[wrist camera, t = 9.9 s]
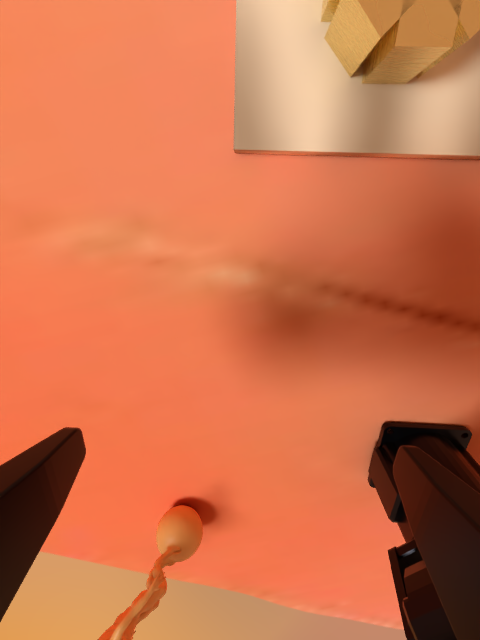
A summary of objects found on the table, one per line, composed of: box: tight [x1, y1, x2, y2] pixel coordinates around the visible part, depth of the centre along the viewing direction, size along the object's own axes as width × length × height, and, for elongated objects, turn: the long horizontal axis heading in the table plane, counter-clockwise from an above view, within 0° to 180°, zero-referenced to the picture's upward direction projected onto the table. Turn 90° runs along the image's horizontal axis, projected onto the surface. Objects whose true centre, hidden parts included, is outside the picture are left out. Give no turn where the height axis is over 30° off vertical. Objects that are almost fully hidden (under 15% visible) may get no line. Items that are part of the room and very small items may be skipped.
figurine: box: [98, 505, 203, 640], centre depth 21 cm, size 8×6×12 cm
